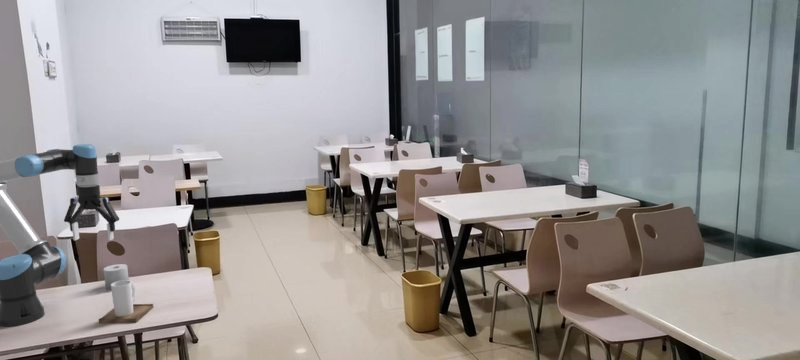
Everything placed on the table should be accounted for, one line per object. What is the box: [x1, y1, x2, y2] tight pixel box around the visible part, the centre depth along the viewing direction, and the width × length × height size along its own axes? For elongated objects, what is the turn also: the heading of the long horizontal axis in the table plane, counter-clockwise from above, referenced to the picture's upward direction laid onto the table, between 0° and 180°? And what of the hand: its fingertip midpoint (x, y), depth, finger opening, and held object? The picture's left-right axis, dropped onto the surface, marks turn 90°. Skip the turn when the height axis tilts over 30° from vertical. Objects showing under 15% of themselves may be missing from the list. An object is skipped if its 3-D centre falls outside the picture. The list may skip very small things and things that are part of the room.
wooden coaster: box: [98, 303, 154, 324], centre depth 220 cm, size 14×14×2 cm
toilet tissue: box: [103, 263, 130, 291], centre depth 253 cm, size 9×13×9 cm
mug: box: [110, 279, 136, 317], centre depth 219 cm, size 10×7×12 cm, turn 165°
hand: (93, 239), depth 224 cm, fingers open, 13 cm apart
